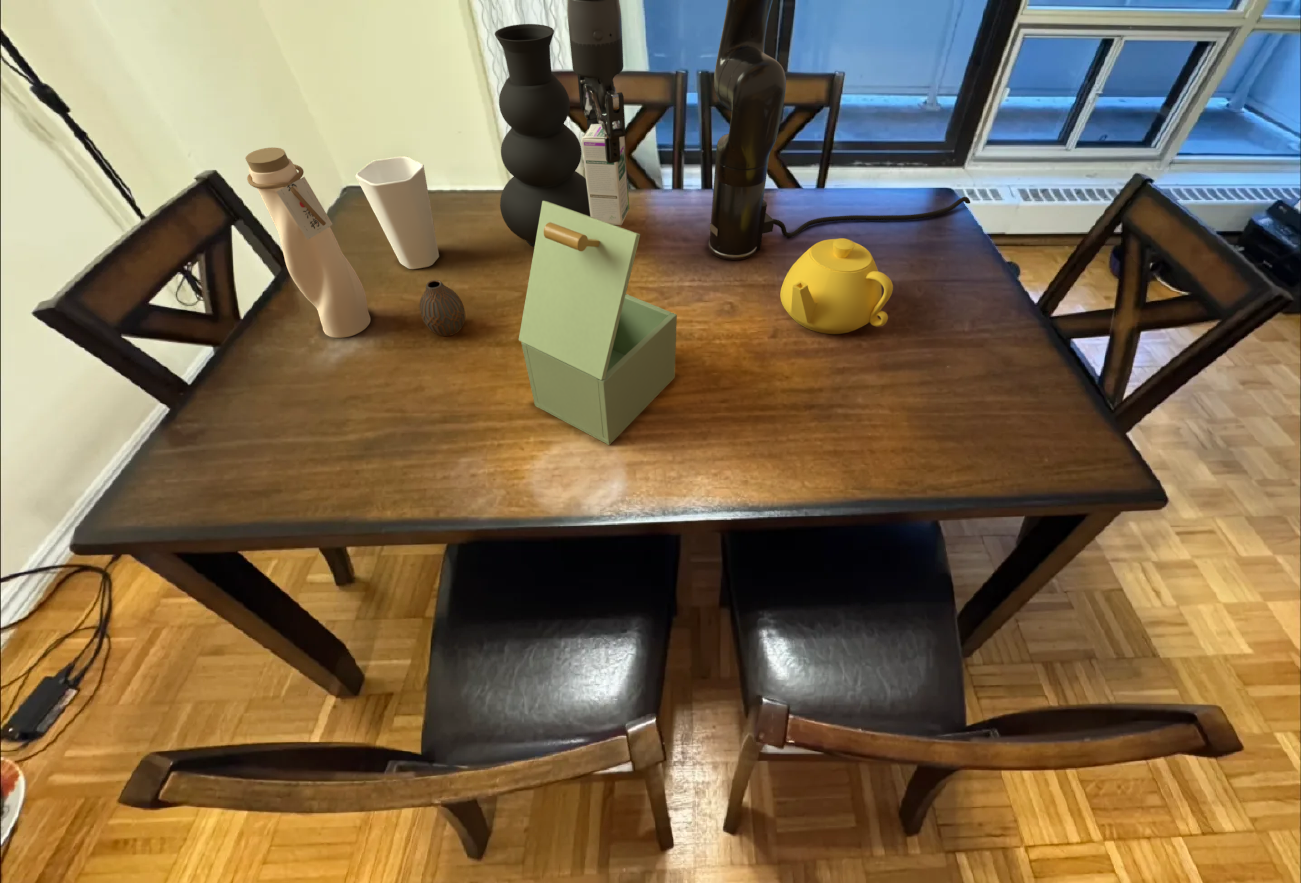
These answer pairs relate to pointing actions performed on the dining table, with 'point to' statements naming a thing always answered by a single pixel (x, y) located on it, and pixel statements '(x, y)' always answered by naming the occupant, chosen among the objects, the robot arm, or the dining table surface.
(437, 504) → the dining table surface
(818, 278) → the teapot
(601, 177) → the syrup box
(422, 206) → the cup
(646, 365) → the chest
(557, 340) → the lid
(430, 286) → the vase
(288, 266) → the water bottle
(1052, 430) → the dining table surface
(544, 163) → the vase
